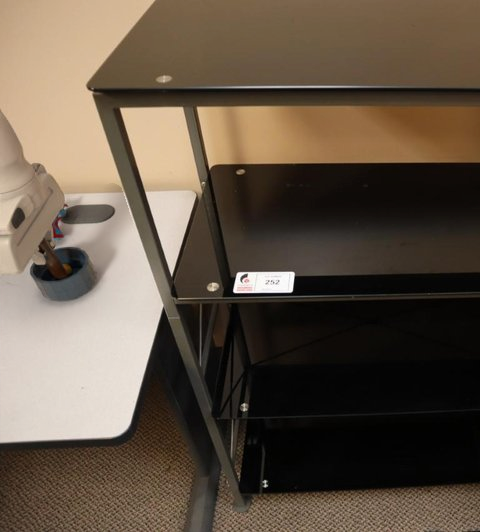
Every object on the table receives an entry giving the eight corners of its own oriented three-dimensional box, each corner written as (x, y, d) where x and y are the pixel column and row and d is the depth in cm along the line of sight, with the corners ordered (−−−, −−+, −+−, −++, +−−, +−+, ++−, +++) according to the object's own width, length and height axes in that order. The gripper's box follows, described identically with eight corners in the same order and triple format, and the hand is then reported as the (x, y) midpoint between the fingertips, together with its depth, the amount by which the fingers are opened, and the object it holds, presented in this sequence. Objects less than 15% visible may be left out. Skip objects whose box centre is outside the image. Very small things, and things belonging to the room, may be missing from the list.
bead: (56, 278, 99) (52, 266, 98) (69, 275, 101) (64, 264, 101) (64, 276, 98) (59, 264, 97) (76, 273, 100) (72, 261, 100)
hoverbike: (41, 248, 105) (29, 228, 101) (50, 212, 113) (39, 192, 109) (69, 245, 106) (58, 224, 102) (76, 209, 114) (66, 189, 110)
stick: (56, 287, 96) (13, 224, 86) (63, 278, 98) (22, 215, 88) (68, 287, 96) (27, 224, 86) (75, 278, 98) (35, 215, 88)
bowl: (33, 303, 95) (20, 283, 91) (54, 266, 102) (42, 246, 98) (88, 303, 96) (77, 283, 92) (105, 266, 103) (95, 246, 99)
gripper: (18, 157, 89) (50, 218, 99) (-43, 234, 75) (1, 296, 85) (56, 157, 90) (85, 218, 100) (3, 234, 76) (42, 296, 85)
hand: (46, 255), depth 92 cm, fingers closed on stick, 2 cm apart
